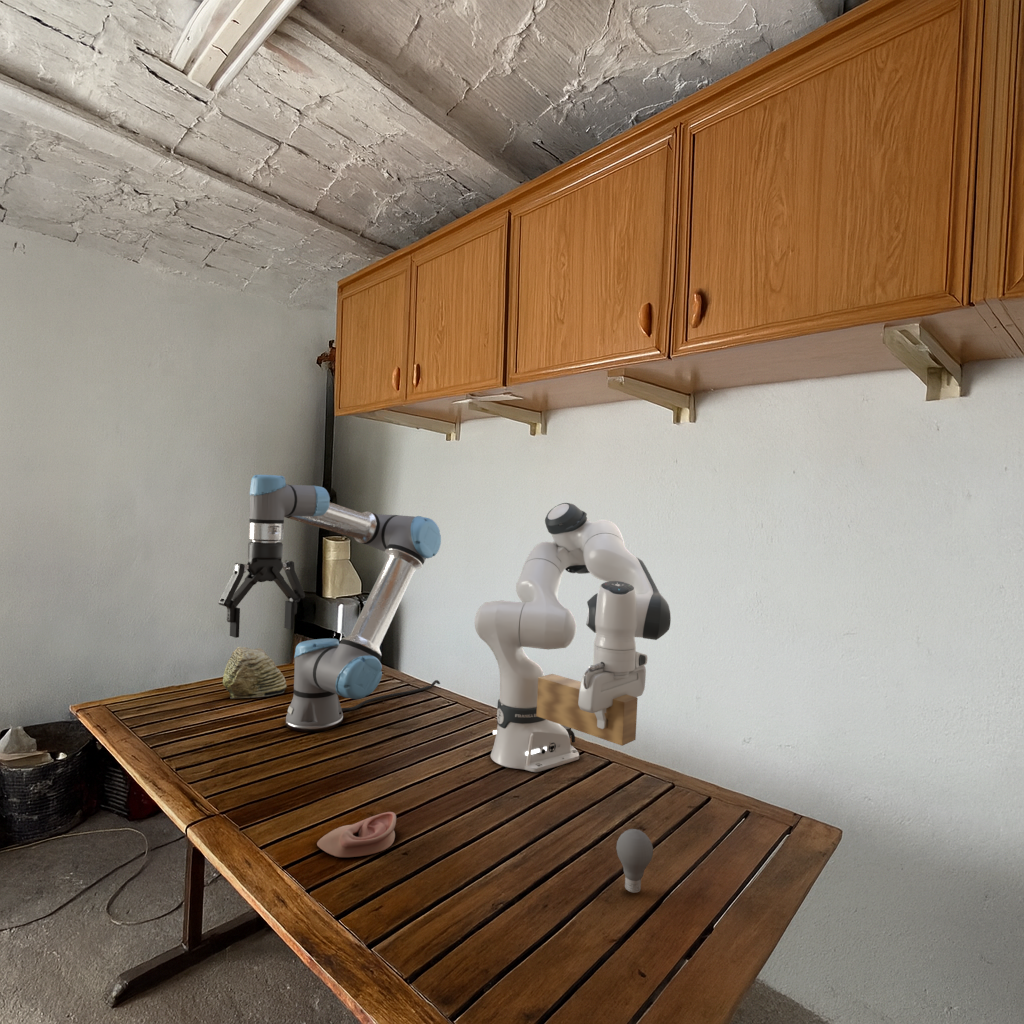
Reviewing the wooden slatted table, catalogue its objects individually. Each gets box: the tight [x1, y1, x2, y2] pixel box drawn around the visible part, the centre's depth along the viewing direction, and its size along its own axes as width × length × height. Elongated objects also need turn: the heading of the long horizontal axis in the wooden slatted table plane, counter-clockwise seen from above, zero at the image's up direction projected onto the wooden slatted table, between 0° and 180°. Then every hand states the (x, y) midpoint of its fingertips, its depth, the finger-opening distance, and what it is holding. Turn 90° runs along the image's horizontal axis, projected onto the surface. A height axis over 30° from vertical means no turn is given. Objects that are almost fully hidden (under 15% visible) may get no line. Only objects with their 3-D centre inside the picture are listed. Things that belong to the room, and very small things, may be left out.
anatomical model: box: [316, 811, 397, 858], centre depth 117 cm, size 13×4×12 cm
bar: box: [536, 673, 639, 747], centre depth 139 cm, size 23×5×9 cm, turn 47°
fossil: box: [222, 646, 288, 699], centre depth 198 cm, size 9×18×15 cm, turn 132°
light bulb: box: [615, 828, 654, 894], centre depth 106 cm, size 6×6×10 cm
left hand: (262, 632), depth 147 cm, fingers open, 13 cm apart
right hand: (611, 724), depth 134 cm, fingers closed on bar, 5 cm apart
